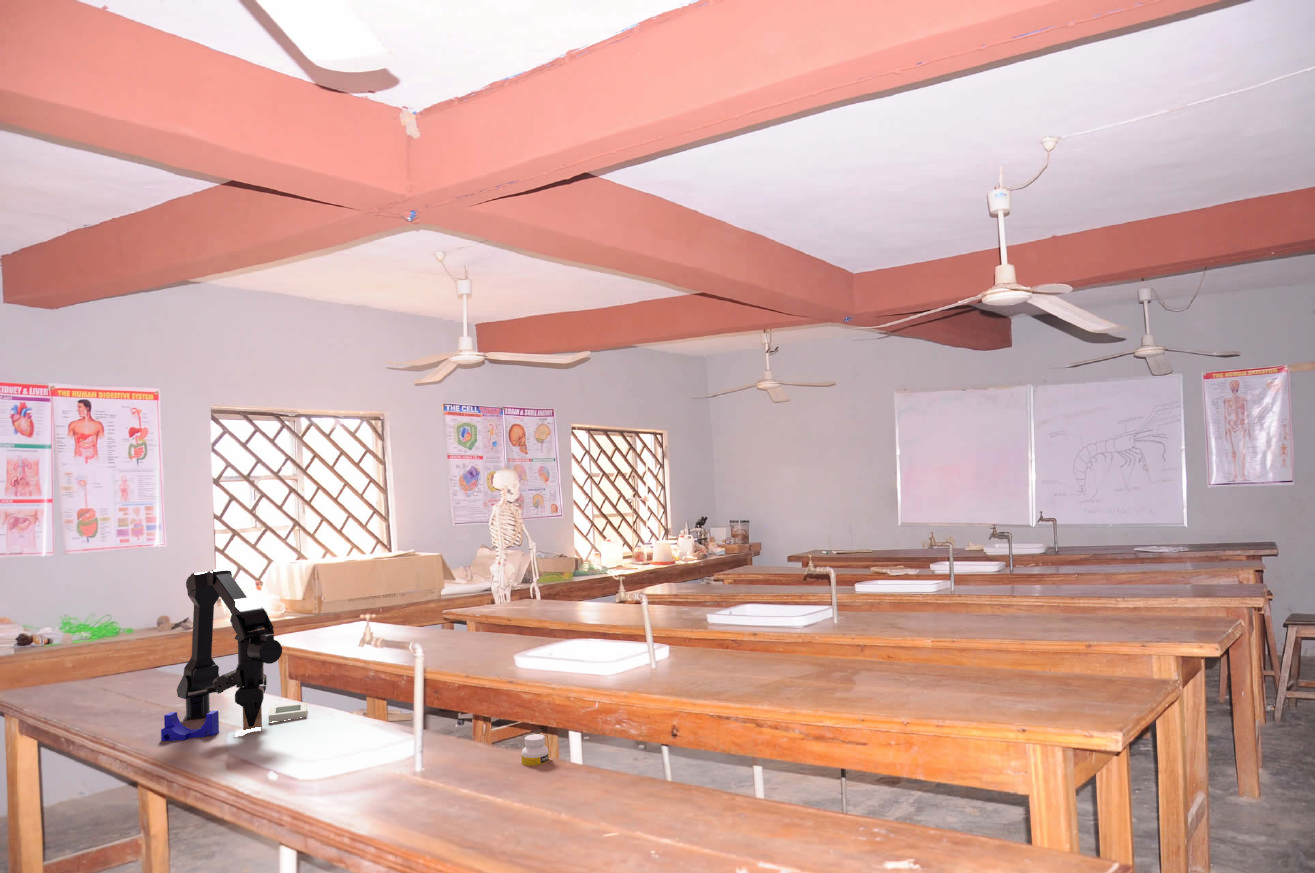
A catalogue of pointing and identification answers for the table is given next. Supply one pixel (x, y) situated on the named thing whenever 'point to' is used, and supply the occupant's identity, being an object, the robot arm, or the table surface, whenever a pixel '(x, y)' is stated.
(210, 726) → the cable clip
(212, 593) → the robot arm
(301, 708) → the frame
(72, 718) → the table surface
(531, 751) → the supplement bottle
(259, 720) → the walnut peg block
